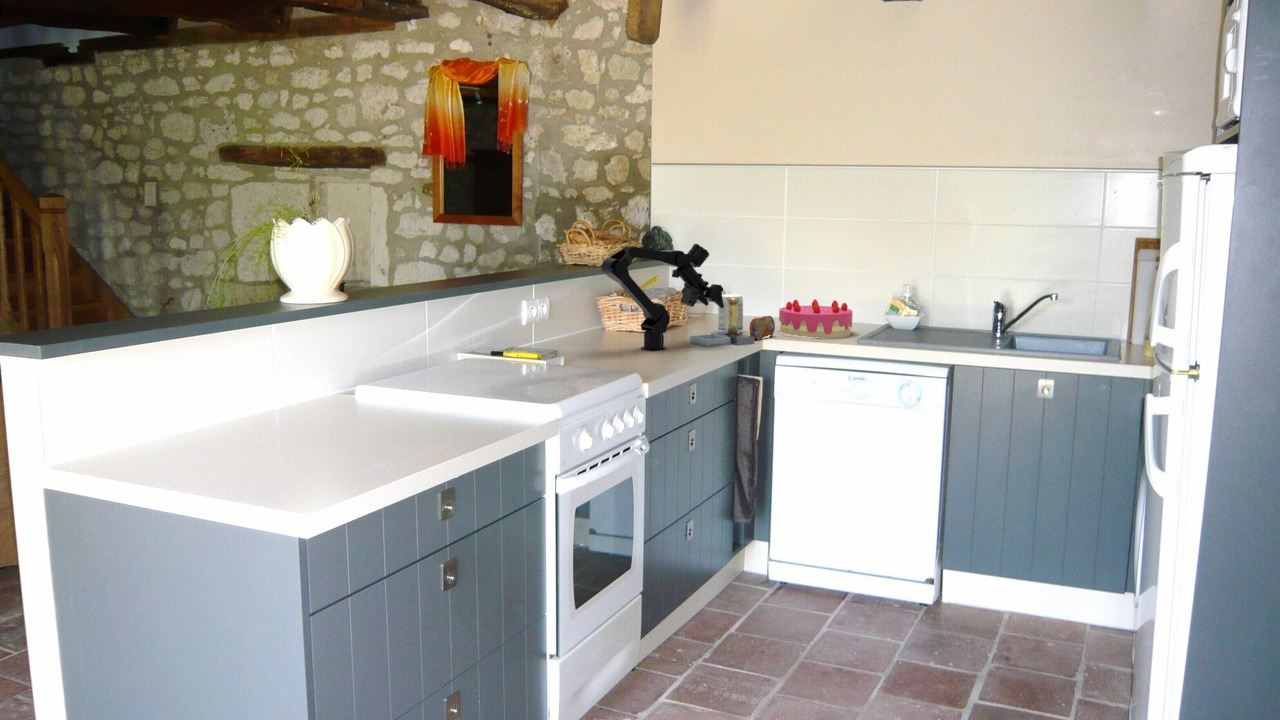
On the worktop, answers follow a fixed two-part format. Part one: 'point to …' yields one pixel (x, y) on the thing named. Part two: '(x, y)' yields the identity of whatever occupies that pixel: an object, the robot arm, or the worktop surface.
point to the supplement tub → (724, 313)
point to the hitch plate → (738, 338)
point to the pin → (732, 316)
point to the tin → (762, 327)
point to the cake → (816, 320)
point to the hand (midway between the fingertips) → (715, 306)
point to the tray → (710, 340)
